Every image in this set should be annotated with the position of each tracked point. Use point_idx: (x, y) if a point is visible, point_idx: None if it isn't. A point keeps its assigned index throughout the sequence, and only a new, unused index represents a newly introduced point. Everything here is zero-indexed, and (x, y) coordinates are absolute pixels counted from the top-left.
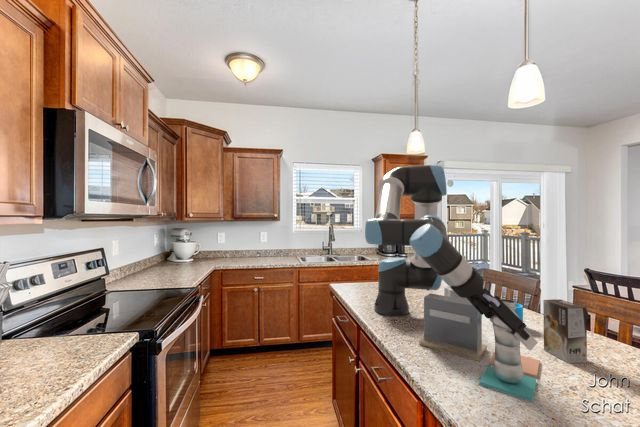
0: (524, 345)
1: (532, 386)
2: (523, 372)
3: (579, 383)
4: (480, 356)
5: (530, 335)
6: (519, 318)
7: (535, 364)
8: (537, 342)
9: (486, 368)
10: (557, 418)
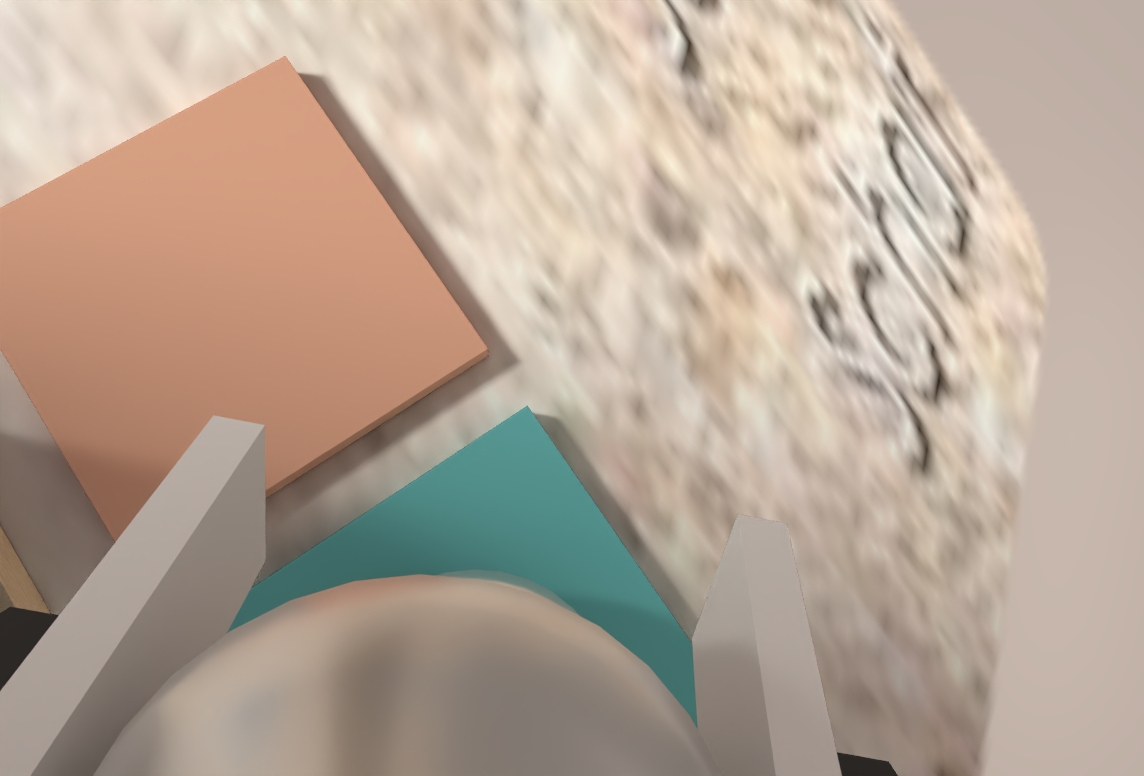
0: (698, 710)
1: (618, 565)
2: (574, 611)
3: (636, 102)
4: (10, 586)
5: (814, 671)
6: (664, 773)
7: (333, 168)
8: (784, 530)
9: None
10: (952, 743)
